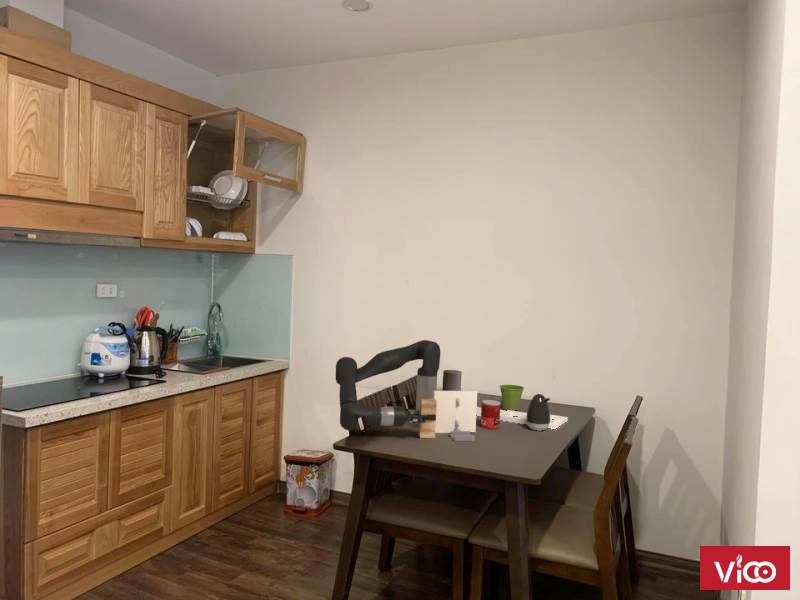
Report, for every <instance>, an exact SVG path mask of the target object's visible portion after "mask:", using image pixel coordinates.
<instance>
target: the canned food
mask: <svg viewBox="0 0 800 600" xmlns="http://www.w3.org/2000/svg"><path fill="white" fill-rule="evenodd" d="M480 408H481V417H480V427H481V428H482V427H483V429H485V428H487V429H486V430H497V429H498V430H499V428H500V424H501V423H500V410H501V401H498V400H494V399H484V400H481V407H480Z"/></svg>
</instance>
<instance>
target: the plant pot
mask: <svg viewBox="0 0 800 600" xmlns="http://www.w3.org/2000/svg"><path fill="white" fill-rule="evenodd" d="M499 388H500V393H501V401H502V408H503V409H502V410H505V411H506V410H512V411H515V410H518V411H519V410H520V404H521V398H522V394H523V391H524V390H525V387H524V386H522V385H518V384H502V385H499Z"/></svg>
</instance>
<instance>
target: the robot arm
mask: <svg viewBox="0 0 800 600" xmlns="http://www.w3.org/2000/svg"><path fill="white" fill-rule="evenodd" d="M418 360H422V365H421V367H418V369H417V372H416V373H417V375H416V376H417V377H416V398H415V409H411V408H410V409H409V408H408V409H406V410H405V407H404V406H396V405H395V406H394V405H393V406H366V405H363V404H359V403H358V394H357V385H356V383H359V382H361V381H365V380H367V379H369V378H372V377H376V376H378V375H381V374H384V373H385V374H386V373H388V372H392V371H395V370H398V369H400V368H401V367H403V366H404V365H405V364H407V363H409V362H412V361H418ZM440 362H441V348H440V345H439V343H437V342H435V341H433V340H428V339H423V340H419V341H416V342H414V343H412V344H409V345H406V346H402V347H398V348H397V347H396V348H393V349H389V350H385V351H381V352H379V353H377V354H375V355H374V356H373V357H372V358H371V359H370V360H368V362H366V363H365V364H364V365H362V366H360V367H358V363H357V361H356V360H355V359H354V358H352V357H351V356H350V357H348V356H344V357H340V358H339V359H338V360H337V361H336V364H335V382H336V384H338V385H339V393H338V394H339V408H340V411H339V413H340V414H339V424H340V426H341V427H342V429H344V430H345V431H352V430H354V429H356V428H357V426H358V424H359V417H360V418H364V419H363V420H364V423H365V425H366V426H383V427H403V426H405V422H408V423H412V424H419V423H423V422H426V421H427V420H436V415H435V414H421V413H419V408H420V399H433V396H434V391H438V390H437V388H438V387H437V386H438V384H437V383H438V371H439V370H440V364H441V363H440ZM344 407H345V408H344ZM421 418H423V419H421Z"/></svg>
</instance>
